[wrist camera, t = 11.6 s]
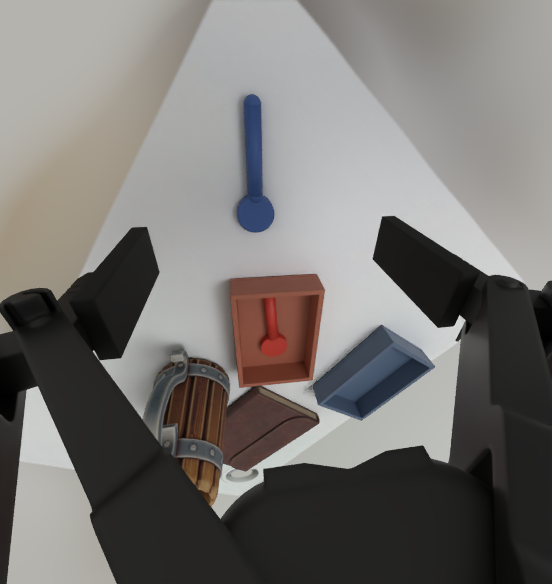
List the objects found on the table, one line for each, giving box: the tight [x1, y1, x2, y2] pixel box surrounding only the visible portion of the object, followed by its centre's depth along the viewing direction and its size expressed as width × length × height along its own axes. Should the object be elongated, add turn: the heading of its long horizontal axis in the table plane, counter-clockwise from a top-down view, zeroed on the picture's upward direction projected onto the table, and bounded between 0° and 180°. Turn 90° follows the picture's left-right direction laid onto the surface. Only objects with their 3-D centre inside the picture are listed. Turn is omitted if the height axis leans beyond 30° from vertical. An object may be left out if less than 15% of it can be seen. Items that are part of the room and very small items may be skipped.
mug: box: [143, 350, 230, 506], centre depth 32 cm, size 16×11×15 cm
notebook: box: [222, 386, 319, 471], centre depth 48 cm, size 15×20×2 cm
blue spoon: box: [237, 94, 274, 233], centre depth 24 cm, size 11×4×1 cm, turn 179°
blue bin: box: [313, 325, 435, 420], centre depth 42 cm, size 15×10×4 cm
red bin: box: [230, 274, 325, 388], centre depth 34 cm, size 15×10×4 cm
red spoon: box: [260, 298, 288, 357], centre depth 34 cm, size 11×4×1 cm, turn 4°
